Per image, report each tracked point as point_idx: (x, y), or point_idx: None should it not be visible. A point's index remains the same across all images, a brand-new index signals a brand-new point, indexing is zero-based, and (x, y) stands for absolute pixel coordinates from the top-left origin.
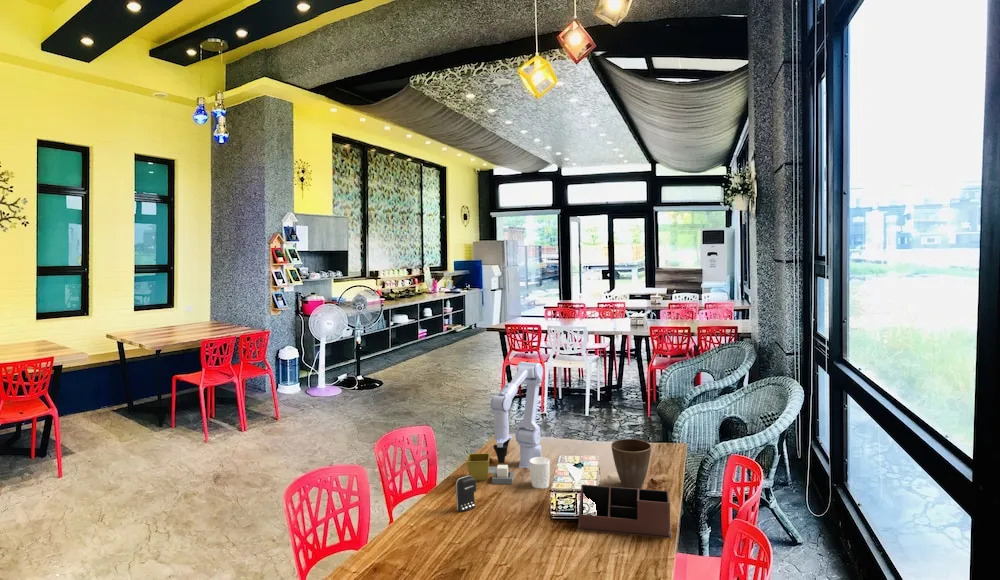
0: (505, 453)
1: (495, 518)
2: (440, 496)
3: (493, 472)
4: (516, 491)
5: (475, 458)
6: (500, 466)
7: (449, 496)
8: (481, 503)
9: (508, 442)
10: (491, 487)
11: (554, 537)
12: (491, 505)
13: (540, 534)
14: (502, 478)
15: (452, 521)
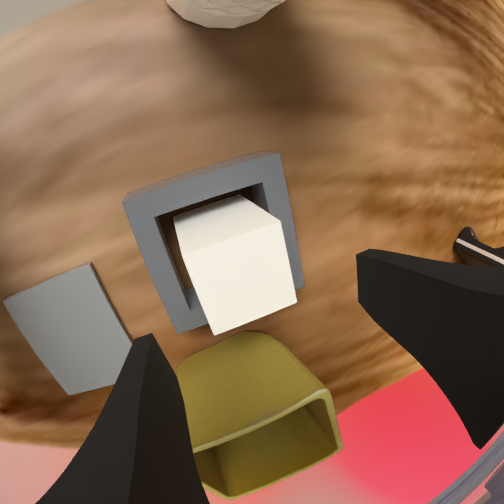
0: (463, 273)
1: (493, 141)
2: (398, 364)
3: (124, 345)
4: (337, 100)
5: (211, 467)
6: (248, 298)
7: (400, 345)
8: (444, 220)
9: (134, 497)
10: (317, 256)
11: (496, 6)
12: (453, 178)
13: (501, 31)
14: (286, 224)
15: (496, 244)
